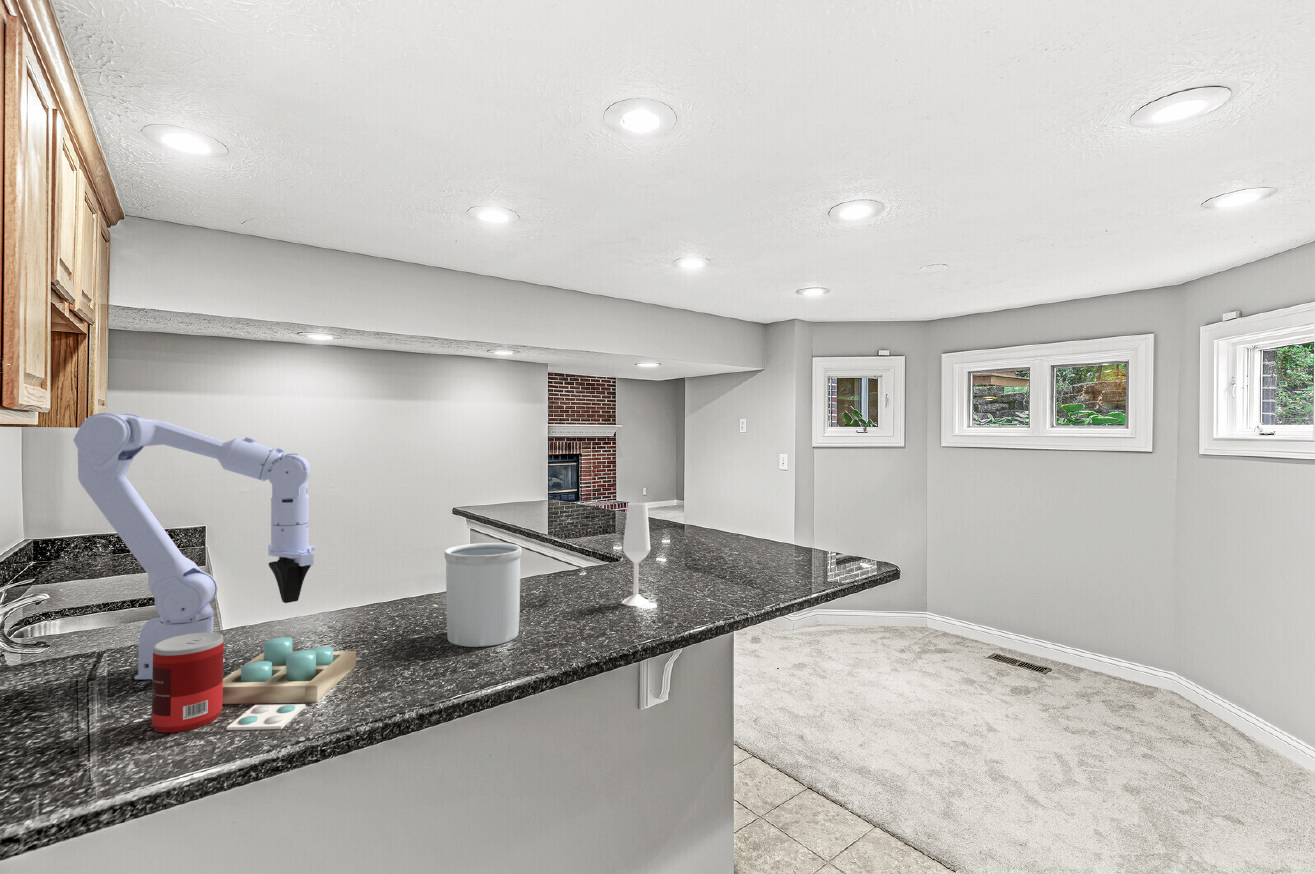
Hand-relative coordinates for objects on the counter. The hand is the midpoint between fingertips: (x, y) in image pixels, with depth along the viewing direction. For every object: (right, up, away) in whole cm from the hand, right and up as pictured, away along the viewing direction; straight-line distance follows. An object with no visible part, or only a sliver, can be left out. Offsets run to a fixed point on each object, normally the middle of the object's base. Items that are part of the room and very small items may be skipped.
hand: (290, 601), depth 110 cm
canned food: (-1, -11, -23) cm, 25 cm away
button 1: (+2, -10, -13) cm, 17 cm away
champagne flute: (+59, -12, +43) cm, 74 cm away
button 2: (+2, -8, -7) cm, 11 cm away
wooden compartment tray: (+5, -11, -10) cm, 15 cm away
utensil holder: (+29, -11, +16) cm, 35 cm away
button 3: (+9, -8, -13) cm, 18 cm away
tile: (+10, -11, -22) cm, 26 cm away
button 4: (+8, -10, -6) cm, 14 cm away
